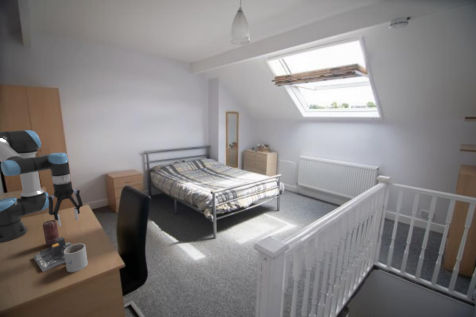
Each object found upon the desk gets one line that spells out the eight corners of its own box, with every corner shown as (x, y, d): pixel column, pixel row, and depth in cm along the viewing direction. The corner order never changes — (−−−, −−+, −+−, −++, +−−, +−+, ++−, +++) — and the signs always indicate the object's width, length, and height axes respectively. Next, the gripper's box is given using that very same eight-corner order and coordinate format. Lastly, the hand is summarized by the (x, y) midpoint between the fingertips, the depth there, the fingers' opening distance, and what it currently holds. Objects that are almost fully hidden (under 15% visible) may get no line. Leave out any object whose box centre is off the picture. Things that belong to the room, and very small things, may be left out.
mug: (89, 265, 110) (87, 248, 108) (69, 274, 104) (65, 256, 102) (83, 255, 118) (80, 238, 116) (63, 263, 112) (60, 245, 110)
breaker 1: (57, 247, 122) (56, 239, 121) (64, 244, 125) (62, 236, 124) (59, 249, 121) (57, 241, 120) (65, 246, 123) (64, 238, 122)
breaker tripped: (52, 254, 116) (51, 245, 115) (59, 251, 119) (58, 242, 118) (54, 256, 115) (52, 247, 114) (61, 253, 117) (59, 244, 116)
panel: (33, 258, 116) (32, 254, 115) (69, 244, 128) (69, 240, 128) (42, 271, 106) (41, 267, 105) (81, 255, 118) (80, 251, 118)
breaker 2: (64, 254, 116) (62, 246, 115) (70, 252, 118) (69, 243, 117) (66, 256, 114) (64, 248, 113) (72, 254, 117) (71, 245, 116)
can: (52, 247, 125) (48, 225, 122) (43, 246, 126) (39, 224, 123) (62, 241, 130) (59, 220, 128) (54, 240, 132) (50, 219, 129)
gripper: (39, 188, 104) (47, 232, 109) (86, 179, 120) (92, 217, 125) (34, 185, 109) (42, 227, 113) (81, 176, 125) (86, 213, 129)
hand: (68, 222), depth 119 cm, fingers open, 7 cm apart
